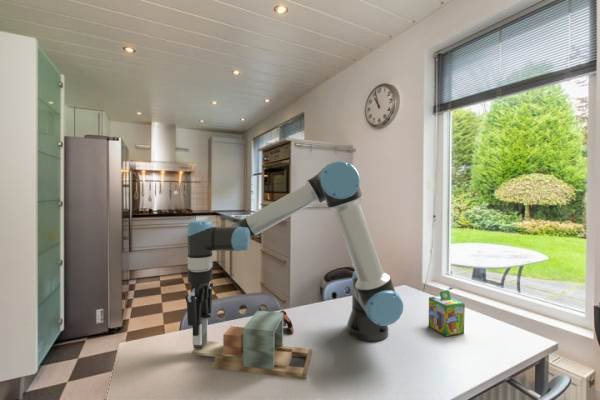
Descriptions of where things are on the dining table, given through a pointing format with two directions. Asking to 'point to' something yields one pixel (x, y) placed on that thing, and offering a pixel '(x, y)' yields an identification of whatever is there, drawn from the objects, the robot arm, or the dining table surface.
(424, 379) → the dining table surface
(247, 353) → the tunnel deck
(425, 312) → the dining table surface
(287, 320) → the pottery mug
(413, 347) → the dining table surface
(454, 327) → the chalk box
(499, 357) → the dining table surface
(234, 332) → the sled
